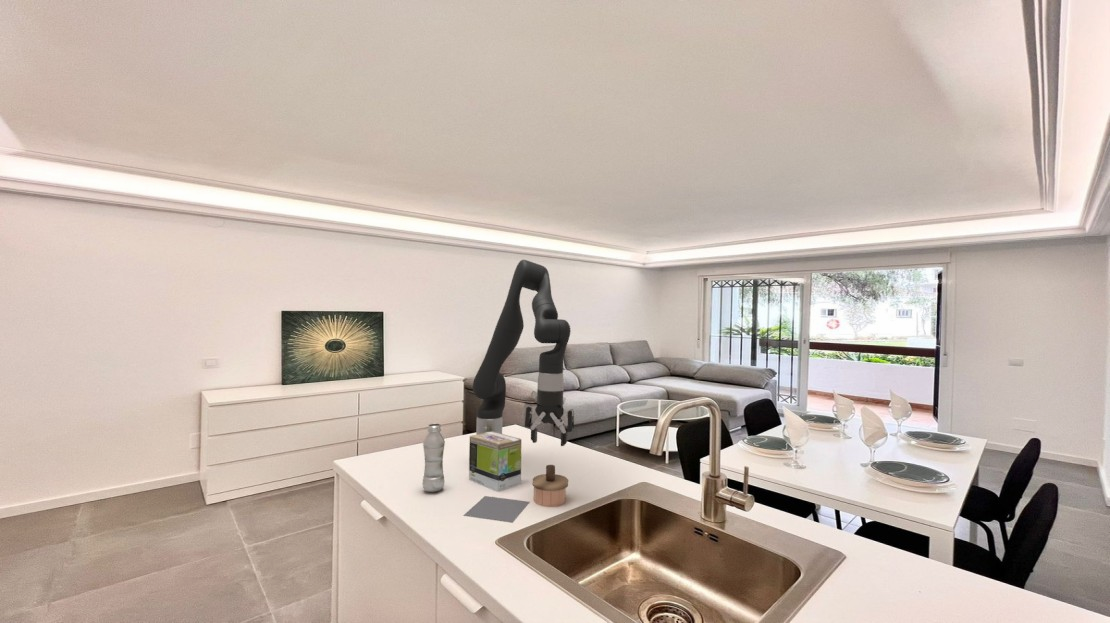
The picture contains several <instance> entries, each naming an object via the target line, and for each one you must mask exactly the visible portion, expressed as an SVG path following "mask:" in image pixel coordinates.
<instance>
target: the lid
mask: <svg viewBox="0 0 1110 623" xmlns="http://www.w3.org/2000/svg"><path fill="white" fill-rule="evenodd" d="M568 486H569V479H568V477H566V476H565V475H561V474H556V465H554V464H548V465H547V464H546V466H545V474H539V475H535V476H534V477H533V478H532V487H533V488H534V487H535V488H537V489H540V490H544V491H557V490H562V489H565V488H566V489H567V487H568Z"/></svg>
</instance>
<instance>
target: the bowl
mask: <svg viewBox="0 0 1110 623" xmlns="http://www.w3.org/2000/svg"><path fill="white" fill-rule="evenodd" d="M566 489H567V487H566V488H565V489H562V490H557V491H544V490H540V489H537V488H535V487H534V486H533V501H534V503H535V505H536V504H537V505H538V506H542V507H558V506H561V505H563V504H564V503H565V502H566V497H567V495H566V492H567V490H566Z"/></svg>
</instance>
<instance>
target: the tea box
mask: <svg viewBox="0 0 1110 623" xmlns="http://www.w3.org/2000/svg"><path fill="white" fill-rule="evenodd" d="M468 456H469V458H468V459H469V460H468V461H469V462H468V463H469V464H468V480H469V481H471V482H473V483H476V484H478V485H480V486H483V487H485V488H488V489H490V490H493V491H495V492H502V491H505V490H507V489H510V488H513V487H515V486H519V485H520V484H521V483H522V439H521V438H520V437H519V438H518V437H515V436H512V435H508V434H504V433H502V434H500V433H496V432H493V431H492V432H487V433H482V434H477V435H476V434H474V435H470V436H469V453H468Z"/></svg>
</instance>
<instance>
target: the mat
mask: <svg viewBox="0 0 1110 623" xmlns="http://www.w3.org/2000/svg"><path fill="white" fill-rule="evenodd" d="M530 503H531V502H530V501H529V500H521V499H519V500H518V499H513V498H512V499H511V498H504V497H496V496H487V495H484V496H483V497H482V498H480V500H479V501H478V502H477V503H476V504H474V505H473V506H472V507H471V508H470V509H468V511H466V512H465V513H464V514H463V515H462V516H464V517H470V518H477V519H485V520H490V521H491V520H492V521H497V522H505V523H512V524H513V523H514V522H515V521H516V519H517V518H519V516H520V514H522V512H523V511H524V510H525V509H526V507H528V505H529V504H530Z"/></svg>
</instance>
